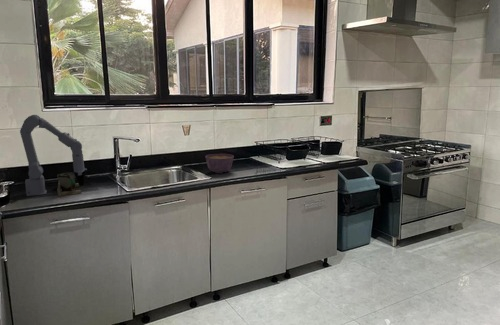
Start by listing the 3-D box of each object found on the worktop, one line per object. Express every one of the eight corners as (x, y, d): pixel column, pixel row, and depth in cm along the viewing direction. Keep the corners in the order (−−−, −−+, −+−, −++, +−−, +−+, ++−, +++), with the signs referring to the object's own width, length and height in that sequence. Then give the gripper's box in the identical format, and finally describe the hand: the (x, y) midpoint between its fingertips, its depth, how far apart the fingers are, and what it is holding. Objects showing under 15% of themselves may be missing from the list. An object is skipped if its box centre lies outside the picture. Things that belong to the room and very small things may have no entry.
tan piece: (58, 197, 204) (57, 190, 203) (59, 186, 225) (58, 180, 224) (81, 194, 209) (80, 187, 208) (80, 184, 230) (80, 178, 229)
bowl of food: (200, 174, 258) (200, 157, 255) (212, 168, 276) (212, 153, 274) (227, 176, 251) (227, 159, 249) (238, 170, 270) (237, 154, 268)
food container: (83, 189, 216) (79, 172, 213) (73, 192, 210) (70, 175, 208) (69, 187, 222) (66, 171, 219) (60, 191, 216) (56, 174, 214)
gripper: (86, 163, 211) (89, 186, 214) (85, 159, 224) (88, 181, 227) (72, 164, 208) (75, 188, 211) (72, 160, 221) (75, 182, 224)
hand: (81, 184), depth 219 cm, fingers open, 4 cm apart
